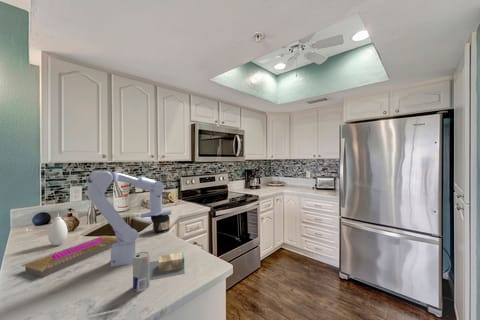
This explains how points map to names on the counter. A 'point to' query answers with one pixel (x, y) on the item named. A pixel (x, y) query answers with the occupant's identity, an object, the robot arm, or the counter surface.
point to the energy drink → (141, 271)
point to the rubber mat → (156, 274)
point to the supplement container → (163, 224)
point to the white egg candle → (57, 231)
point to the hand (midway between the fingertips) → (156, 229)
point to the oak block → (171, 262)
